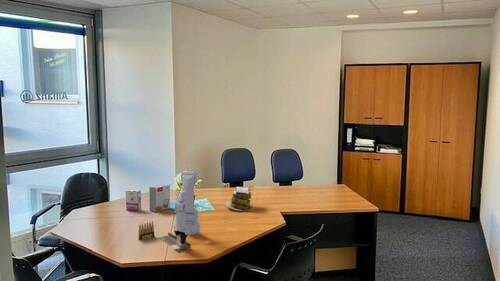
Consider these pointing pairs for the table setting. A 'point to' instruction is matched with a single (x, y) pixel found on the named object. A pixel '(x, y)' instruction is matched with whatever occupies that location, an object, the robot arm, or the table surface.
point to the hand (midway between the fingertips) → (181, 242)
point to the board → (174, 242)
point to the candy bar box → (133, 200)
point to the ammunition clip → (146, 231)
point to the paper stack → (241, 200)
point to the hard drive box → (159, 197)
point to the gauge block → (180, 241)
